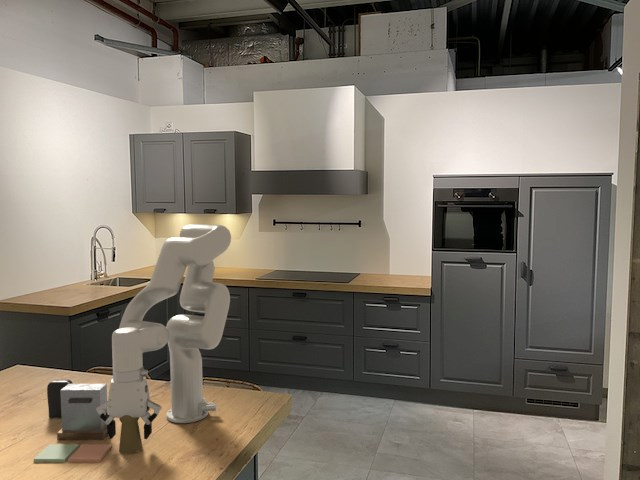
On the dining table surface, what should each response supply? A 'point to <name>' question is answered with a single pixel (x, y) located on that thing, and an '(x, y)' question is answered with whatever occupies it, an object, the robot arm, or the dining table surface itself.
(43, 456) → the green pad
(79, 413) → the grey unit
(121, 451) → the brown pepper mill
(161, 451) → the dining table surface
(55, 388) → the battery charger
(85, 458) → the terracotta pad
